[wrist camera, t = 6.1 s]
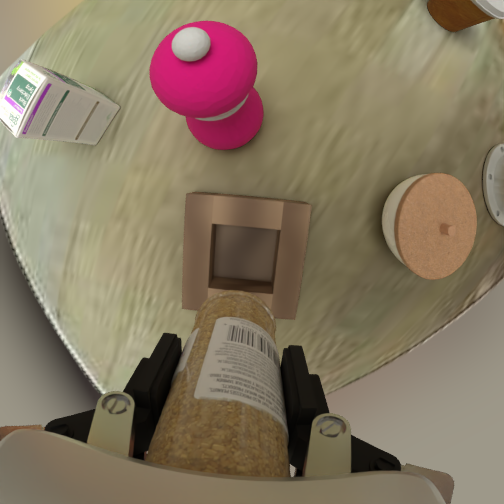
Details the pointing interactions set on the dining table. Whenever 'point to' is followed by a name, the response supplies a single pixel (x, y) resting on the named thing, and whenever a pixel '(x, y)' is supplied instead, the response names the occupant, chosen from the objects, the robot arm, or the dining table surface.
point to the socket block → (244, 249)
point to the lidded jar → (430, 224)
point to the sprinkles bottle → (226, 394)
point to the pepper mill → (209, 82)
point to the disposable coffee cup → (464, 12)
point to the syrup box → (53, 106)
